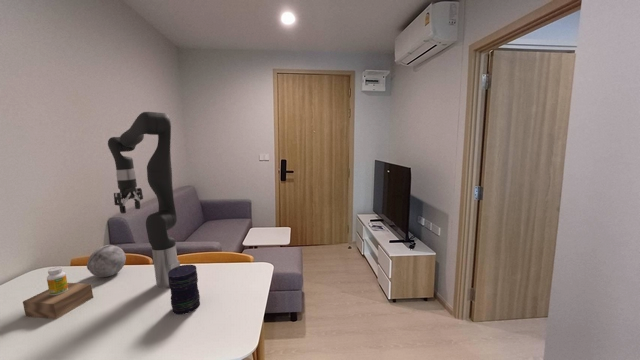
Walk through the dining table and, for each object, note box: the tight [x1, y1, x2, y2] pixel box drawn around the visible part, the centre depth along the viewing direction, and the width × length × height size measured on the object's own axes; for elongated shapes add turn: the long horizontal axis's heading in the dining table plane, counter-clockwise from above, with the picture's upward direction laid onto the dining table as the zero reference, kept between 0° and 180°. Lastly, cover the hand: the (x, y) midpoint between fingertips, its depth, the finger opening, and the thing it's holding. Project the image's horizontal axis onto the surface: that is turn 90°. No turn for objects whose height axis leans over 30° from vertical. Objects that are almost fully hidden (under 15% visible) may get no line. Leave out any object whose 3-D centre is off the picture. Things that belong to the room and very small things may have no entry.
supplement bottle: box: [46, 266, 68, 295], centre depth 108 cm, size 5×5×10 cm
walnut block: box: [22, 282, 94, 320], centre depth 109 cm, size 14×14×6 cm
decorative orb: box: [86, 244, 127, 278], centre depth 134 cm, size 15×14×15 cm
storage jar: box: [168, 264, 201, 316], centre depth 105 cm, size 10×10×15 cm
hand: (130, 211), depth 137 cm, fingers open, 8 cm apart
